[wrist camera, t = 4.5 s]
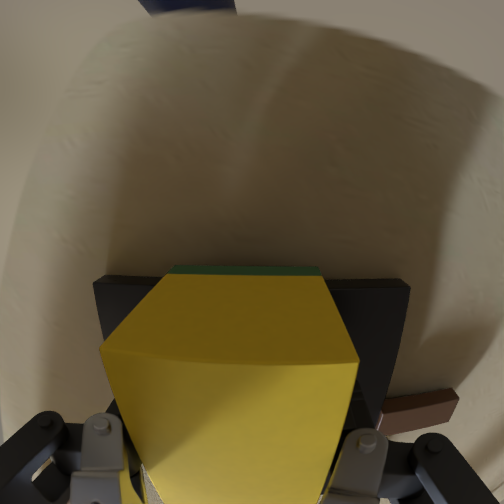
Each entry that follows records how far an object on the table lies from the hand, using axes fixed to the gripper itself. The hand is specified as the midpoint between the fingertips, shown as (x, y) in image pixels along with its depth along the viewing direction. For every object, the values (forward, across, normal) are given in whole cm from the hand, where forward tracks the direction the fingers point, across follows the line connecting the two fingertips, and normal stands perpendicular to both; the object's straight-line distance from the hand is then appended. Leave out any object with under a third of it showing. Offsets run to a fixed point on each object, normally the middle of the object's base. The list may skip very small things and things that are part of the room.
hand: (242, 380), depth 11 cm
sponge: (+2, 0, 0) cm, 2 cm away
